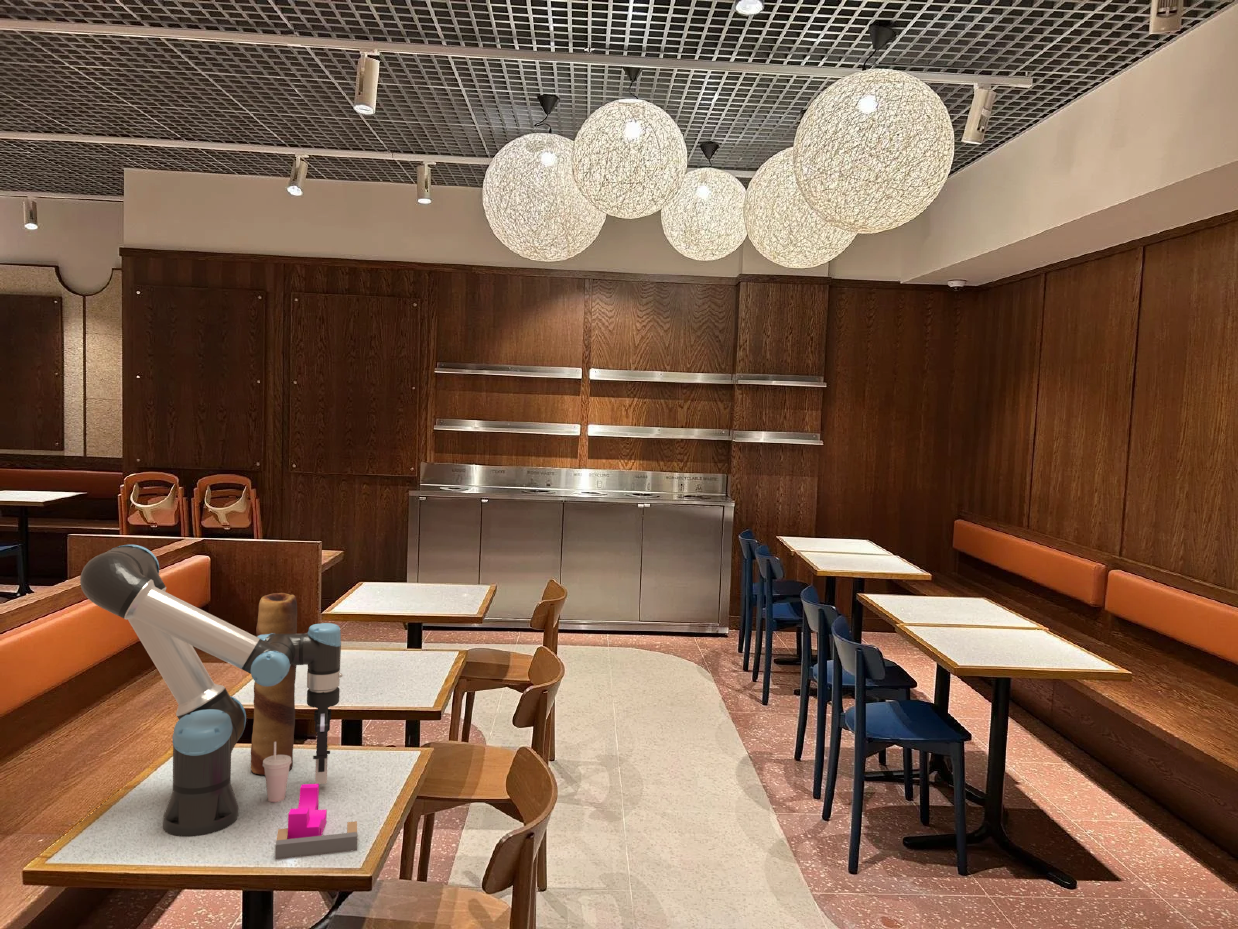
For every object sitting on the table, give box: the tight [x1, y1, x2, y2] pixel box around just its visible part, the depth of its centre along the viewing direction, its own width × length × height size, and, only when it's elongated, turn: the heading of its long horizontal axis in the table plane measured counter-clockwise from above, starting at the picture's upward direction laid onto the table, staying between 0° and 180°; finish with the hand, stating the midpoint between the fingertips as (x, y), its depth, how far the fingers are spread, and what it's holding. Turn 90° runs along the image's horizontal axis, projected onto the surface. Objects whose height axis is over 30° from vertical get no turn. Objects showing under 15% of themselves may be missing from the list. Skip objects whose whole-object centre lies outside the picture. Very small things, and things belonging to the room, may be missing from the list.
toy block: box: [287, 783, 328, 839], centre depth 188 cm, size 15×6×8 cm, turn 10°
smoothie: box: [263, 741, 292, 803], centre depth 202 cm, size 6×6×14 cm
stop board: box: [274, 821, 358, 860], centre depth 180 cm, size 16×7×4 cm, turn 108°
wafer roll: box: [250, 592, 298, 776], centre depth 218 cm, size 10×11×45 cm
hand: (321, 782), depth 208 cm, fingers closed
